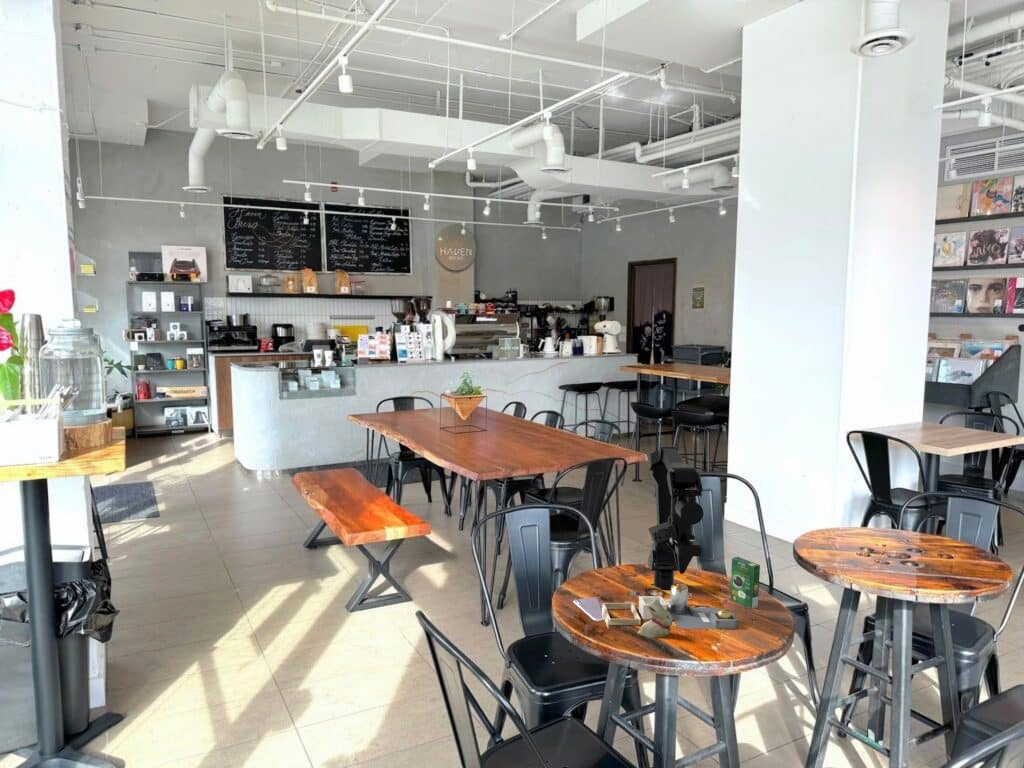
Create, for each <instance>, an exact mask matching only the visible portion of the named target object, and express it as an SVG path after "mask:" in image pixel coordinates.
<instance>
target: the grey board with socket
mask: <svg viewBox="0 0 1024 768" xmlns="http://www.w3.org/2000/svg"><path fill="white" fill-rule="evenodd" d="M666 605H667V611H668V612H669V613H671V615H672V617H673V621H675V624H676V625H677V626H678V628H679V629H680V630H706V629H707V630H715V629H717V630H732V629H733V630H736V629H739V622H740V621H739V619H738V618H737V617H736V616H735V614H734V613H733V612H732V611H731V619H718V609H721V608H720V607H715V606H713V607H709V606H708V607H704V606H703V607H701V606H700V607H699V606H698V607H697V606H695V607H691V606H690V604H688V612H687V614H685V615H676V614H673V613H672V612H671V606H670V607H669V606H668V604H667V603H666Z"/></svg>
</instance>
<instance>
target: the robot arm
mask: <svg viewBox="0 0 1024 768" xmlns="http://www.w3.org/2000/svg"><path fill="white" fill-rule="evenodd" d="M646 465H647V471H649V477H650V479H651V480H652V482H653V484H654V485H655V501H656V502H655V503H656V504H655V506H656V509H655V510H656V525H653V526H651V527H648V532H649V536H650V538H651V540H652V544H651V546H652V547H651V548H652V549H651V550H650V552H649V555H648V558H647V559H648V560H647V563H648V568H649V570H650V571H651V572H653V583H650V586H653V587H655V588H656V589H659V590H661V591H671V586H672V584H675V571H676V572H679V574H680V575H681V574H682V575H683V574H685V572H686V571H687V569H688V567H689V564H690V563H691V562H692V559H693V557H703V555H704V552H703V551H704V548H703V547H702V546H701V545H700V544H699V543H698V542H697V541H696V536H695V534H694V525H697V524H698V523H700V522H702V519H703V518H704V510H703V509H704V508H703V507H702V506H701V504H699V503H698V502H697V497H702V496H703V495H702V493H703V491H704V489H703V484H702V479H701V476H700V475H699V474H700V473H699V472H698V471H697V469H696V468H695V466H693V465H692V464H687V463H685V461H684V460H683V458H682V457H681V455H680V453H679V451H678V447H677V446H675V445H661V446H659V447H658V448H657V450H656V451H653V452H651V453H650V454H649V456H648V458H647V463H646Z"/></svg>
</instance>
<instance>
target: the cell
mask: <svg viewBox="0 0 1024 768" xmlns="http://www.w3.org/2000/svg"><path fill="white" fill-rule="evenodd" d="M688 598H689V588H688V585H687V584H684V583H676V582H674V584H672V586H671V590H670V607H671V612H672V613H673V614H676V615H685V614H687V612H688V602H689V599H688Z"/></svg>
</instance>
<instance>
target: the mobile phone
mask: <svg viewBox="0 0 1024 768" xmlns="http://www.w3.org/2000/svg"><path fill="white" fill-rule="evenodd" d="M572 602H573V604H574V605H575V606H577V607H578V608H579V609H580V610H582V612H584V613H585V614H586V615H587V616H588V617H589V618H591V619H592V620H593V621H595V622H600V621H605V618H604V615H603V612H602V603H601V600H600V599H599V598H598V597H595V596H594V597H585V598H578V599H577V598H576V599H573V601H572Z"/></svg>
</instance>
